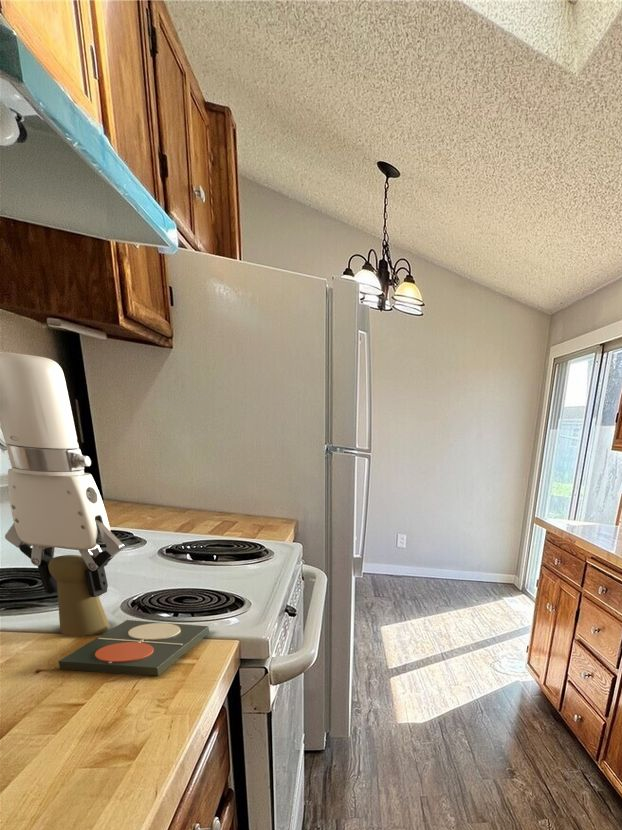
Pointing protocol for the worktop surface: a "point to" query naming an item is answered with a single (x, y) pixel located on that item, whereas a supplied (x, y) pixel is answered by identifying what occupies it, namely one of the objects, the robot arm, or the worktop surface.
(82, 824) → the worktop surface
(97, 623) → the cork
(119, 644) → the board
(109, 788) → the worktop surface
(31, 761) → the worktop surface
